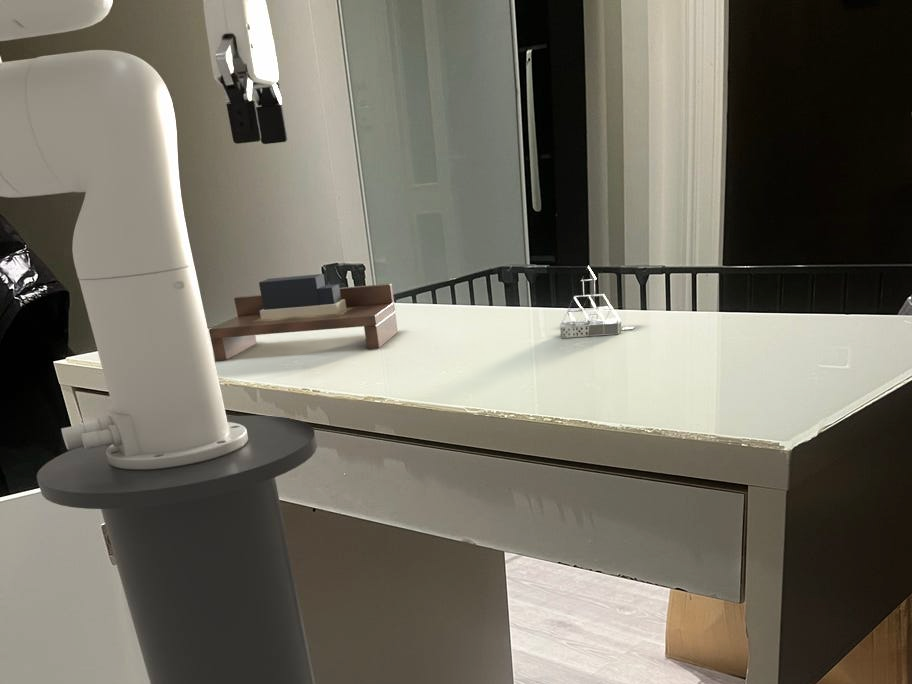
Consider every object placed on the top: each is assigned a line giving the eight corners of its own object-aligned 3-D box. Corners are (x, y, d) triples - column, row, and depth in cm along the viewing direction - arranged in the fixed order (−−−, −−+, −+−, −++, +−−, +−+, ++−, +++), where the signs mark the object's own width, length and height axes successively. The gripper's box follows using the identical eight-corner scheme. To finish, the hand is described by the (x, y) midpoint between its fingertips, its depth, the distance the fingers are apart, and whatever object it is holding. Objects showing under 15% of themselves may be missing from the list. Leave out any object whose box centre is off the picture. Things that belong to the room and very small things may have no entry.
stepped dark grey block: (261, 320, 125) (254, 283, 123) (272, 314, 129) (265, 278, 127) (337, 313, 123) (332, 276, 121) (346, 308, 127) (341, 271, 125)
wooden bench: (215, 360, 124) (204, 309, 121) (246, 344, 135) (236, 296, 132) (379, 348, 121) (372, 295, 118) (397, 332, 132) (391, 283, 129)
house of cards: (636, 321, 121) (635, 256, 117) (634, 333, 113) (632, 264, 110) (565, 326, 123) (562, 262, 119) (558, 338, 115) (554, 271, 112)
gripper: (227, -16, 113) (255, 146, 121) (167, -41, 98) (204, 145, 106) (287, -24, 112) (312, 140, 120) (236, -51, 97) (268, 138, 105)
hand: (261, 142), depth 113 cm, fingers open, 9 cm apart
